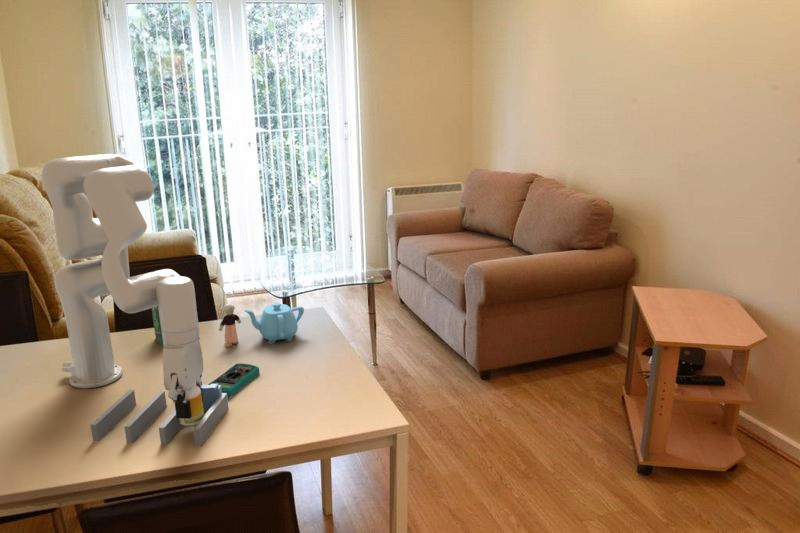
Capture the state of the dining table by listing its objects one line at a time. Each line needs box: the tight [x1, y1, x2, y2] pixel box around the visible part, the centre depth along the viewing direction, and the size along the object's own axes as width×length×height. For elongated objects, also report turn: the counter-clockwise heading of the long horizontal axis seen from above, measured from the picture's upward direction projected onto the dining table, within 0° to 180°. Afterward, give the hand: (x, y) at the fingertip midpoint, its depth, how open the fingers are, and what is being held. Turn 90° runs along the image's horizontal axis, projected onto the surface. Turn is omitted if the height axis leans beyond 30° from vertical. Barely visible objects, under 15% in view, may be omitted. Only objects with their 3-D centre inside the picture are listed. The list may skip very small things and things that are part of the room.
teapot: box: [243, 302, 305, 344], centre depth 183 cm, size 13×14×11 cm
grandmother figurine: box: [218, 303, 242, 348], centre depth 180 cm, size 8×4×13 cm, turn 154°
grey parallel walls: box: [89, 384, 229, 447], centre depth 136 cm, size 24×16×7 cm, turn 84°
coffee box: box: [150, 306, 164, 347], centre depth 182 cm, size 8×3×13 cm, turn 34°
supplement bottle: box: [178, 381, 205, 427], centre depth 133 cm, size 5×5×10 cm
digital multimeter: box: [207, 363, 260, 399], centre depth 156 cm, size 7×15×3 cm, turn 162°
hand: (190, 409), depth 133 cm, fingers closed on supplement bottle, 5 cm apart
